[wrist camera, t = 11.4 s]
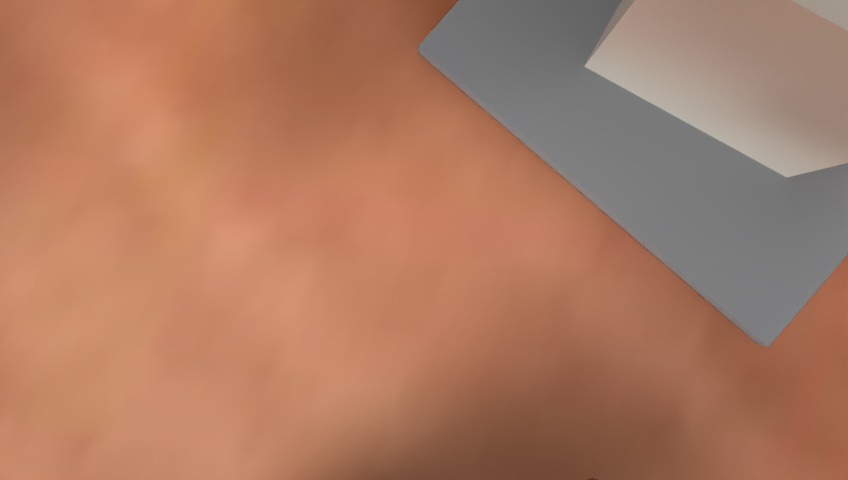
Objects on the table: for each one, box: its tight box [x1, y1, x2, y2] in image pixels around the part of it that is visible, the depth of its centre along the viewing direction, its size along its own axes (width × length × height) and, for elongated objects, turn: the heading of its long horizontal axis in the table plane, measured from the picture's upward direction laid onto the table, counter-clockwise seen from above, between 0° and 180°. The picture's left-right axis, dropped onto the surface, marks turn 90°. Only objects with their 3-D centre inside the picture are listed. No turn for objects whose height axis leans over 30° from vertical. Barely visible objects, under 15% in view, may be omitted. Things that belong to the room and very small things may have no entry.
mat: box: [418, 0, 848, 347], centre depth 18 cm, size 14×14×1 cm
